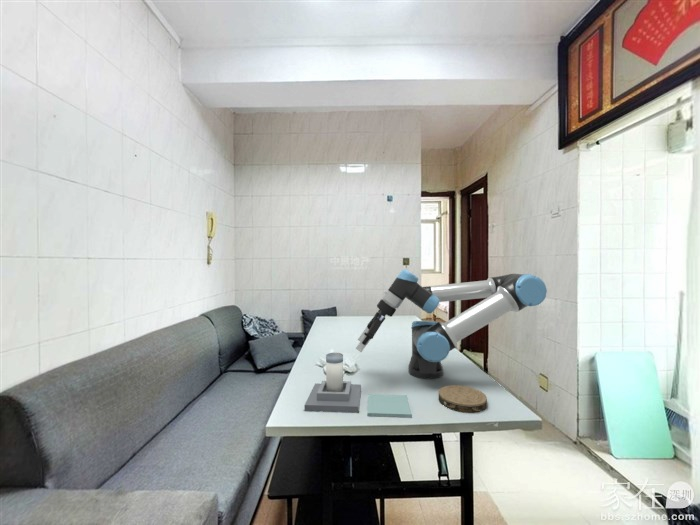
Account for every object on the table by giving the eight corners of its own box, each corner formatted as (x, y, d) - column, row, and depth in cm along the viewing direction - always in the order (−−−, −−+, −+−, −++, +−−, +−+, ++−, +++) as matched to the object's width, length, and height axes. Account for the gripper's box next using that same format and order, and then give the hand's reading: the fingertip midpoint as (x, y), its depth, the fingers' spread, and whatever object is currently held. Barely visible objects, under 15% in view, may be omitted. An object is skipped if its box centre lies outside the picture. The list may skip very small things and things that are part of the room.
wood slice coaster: (495, 414, 96) (495, 404, 96) (446, 414, 97) (446, 404, 97) (475, 393, 112) (475, 385, 112) (433, 393, 113) (433, 385, 113)
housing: (361, 389, 116) (360, 378, 116) (358, 412, 98) (358, 398, 98) (315, 388, 117) (315, 377, 117) (304, 411, 99) (304, 397, 99)
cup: (344, 390, 110) (343, 352, 110) (342, 398, 104) (342, 357, 104) (327, 390, 111) (327, 352, 111) (324, 397, 104) (324, 357, 105)
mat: (406, 397, 108) (406, 395, 108) (411, 417, 94) (411, 414, 94) (368, 396, 109) (368, 394, 109) (367, 416, 95) (367, 412, 95)
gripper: (381, 295, 134) (353, 333, 135) (382, 302, 109) (349, 348, 110) (394, 305, 134) (367, 343, 134) (399, 314, 109) (365, 360, 110)
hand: (359, 345), depth 122 cm, fingers open, 13 cm apart
